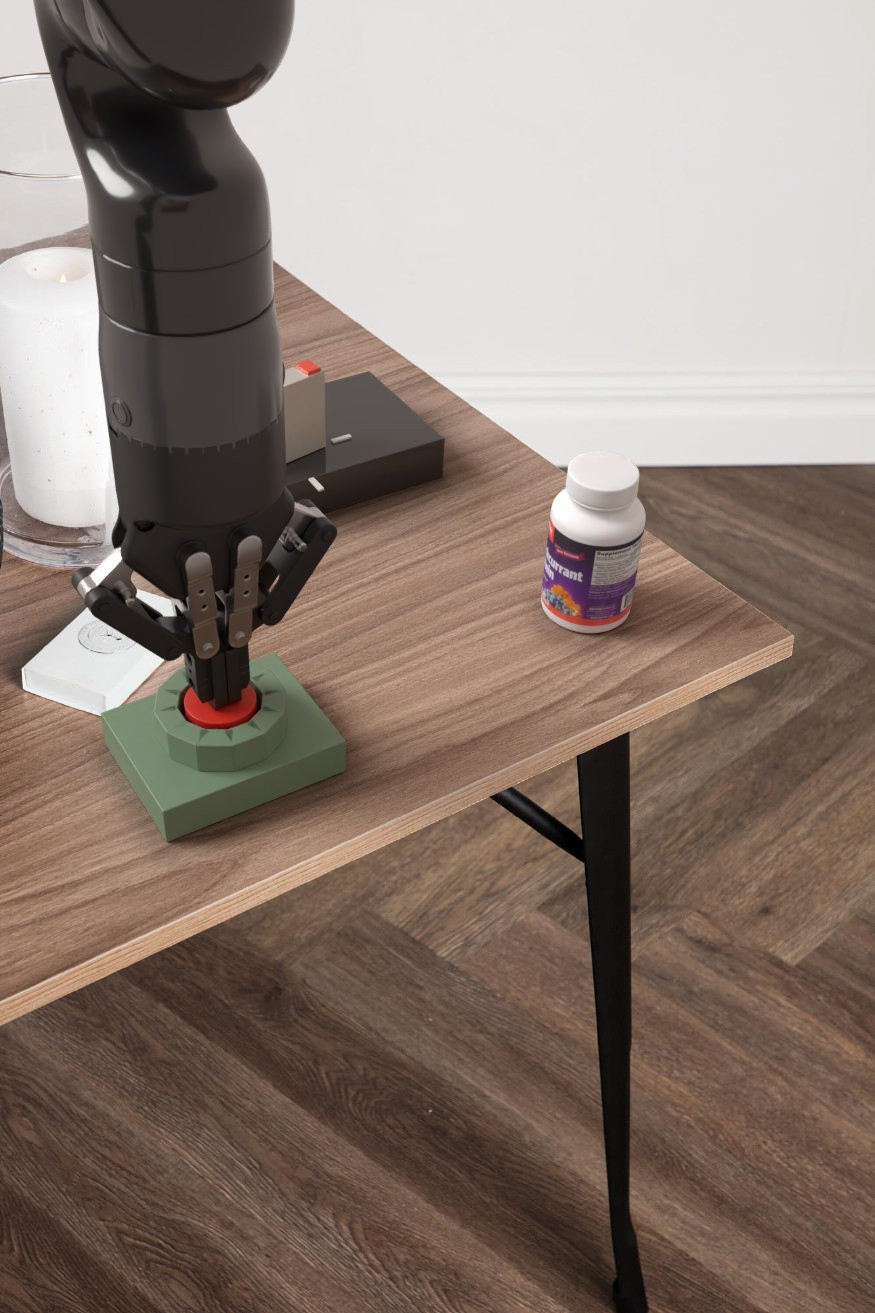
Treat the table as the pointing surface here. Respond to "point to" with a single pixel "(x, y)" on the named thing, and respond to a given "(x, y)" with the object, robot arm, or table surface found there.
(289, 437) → the beige rectangular block
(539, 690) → the table surface
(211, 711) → the red button cap
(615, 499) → the pill bottle
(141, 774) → the button housing
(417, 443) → the panel
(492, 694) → the table surface
